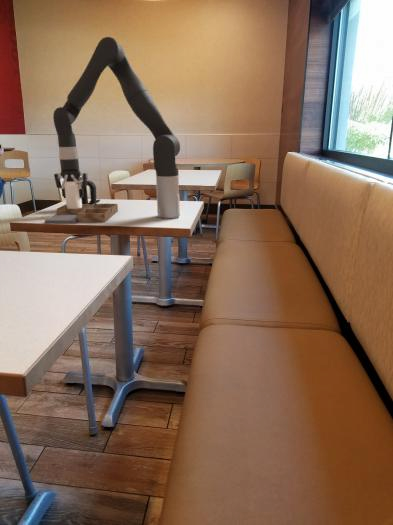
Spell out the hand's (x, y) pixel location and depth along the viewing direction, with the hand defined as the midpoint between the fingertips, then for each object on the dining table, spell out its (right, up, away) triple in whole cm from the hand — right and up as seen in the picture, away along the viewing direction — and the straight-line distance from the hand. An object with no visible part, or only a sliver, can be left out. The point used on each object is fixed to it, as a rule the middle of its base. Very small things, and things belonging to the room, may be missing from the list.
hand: (73, 197), depth 177 cm
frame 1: (0, -7, +2) cm, 7 cm away
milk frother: (0, -3, +17) cm, 17 cm away
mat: (-1, -11, -9) cm, 14 cm away
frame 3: (+12, -7, +4) cm, 14 cm away
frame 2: (+11, -10, -8) cm, 17 cm away
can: (0, -5, +1) cm, 5 cm away
